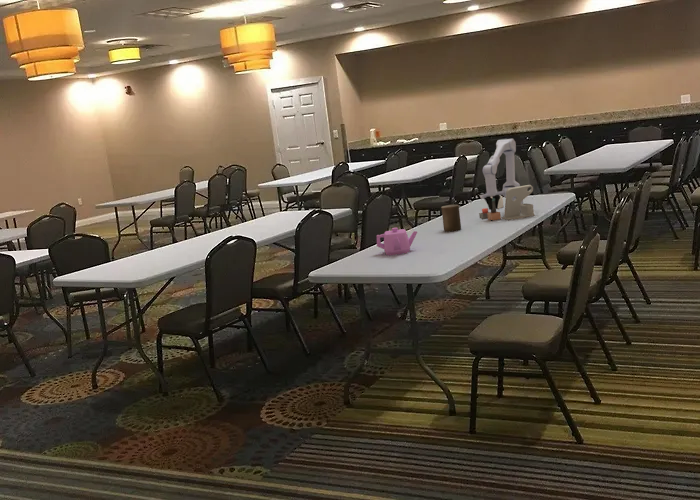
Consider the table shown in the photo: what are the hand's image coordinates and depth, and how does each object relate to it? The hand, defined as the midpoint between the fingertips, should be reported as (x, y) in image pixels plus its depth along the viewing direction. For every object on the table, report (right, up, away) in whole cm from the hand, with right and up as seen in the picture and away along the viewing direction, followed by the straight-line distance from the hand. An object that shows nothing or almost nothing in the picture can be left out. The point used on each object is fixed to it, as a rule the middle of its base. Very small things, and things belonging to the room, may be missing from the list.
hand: (493, 208), depth 420 cm
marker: (0, -2, 0) cm, 2 cm away
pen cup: (+1, -6, +1) cm, 6 cm away
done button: (-3, -2, +10) cm, 11 cm away
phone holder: (+14, -5, -1) cm, 15 cm away
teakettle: (-59, -25, -56) cm, 85 cm away
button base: (-2, -5, +11) cm, 12 cm away
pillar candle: (-26, -13, -15) cm, 32 cm away
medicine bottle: (+10, +3, +43) cm, 44 cm away
